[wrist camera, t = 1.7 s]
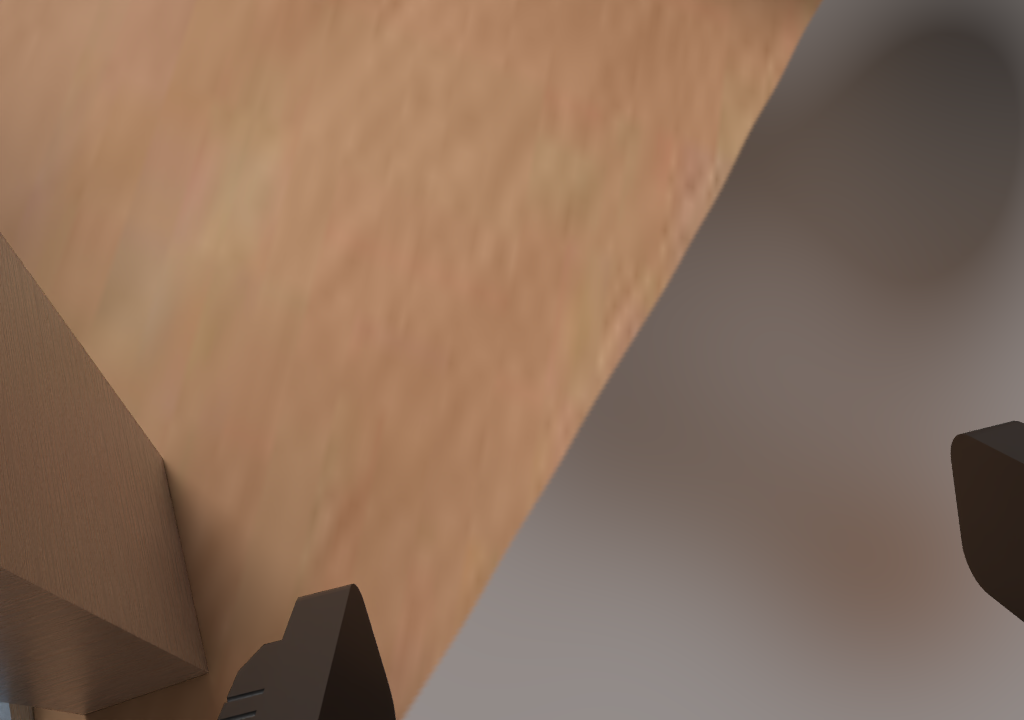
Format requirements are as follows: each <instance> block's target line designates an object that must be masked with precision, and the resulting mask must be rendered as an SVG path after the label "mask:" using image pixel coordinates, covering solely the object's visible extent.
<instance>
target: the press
mask: <svg viewBox="0 0 1024 720" xmlns="http://www.w3.org/2000/svg"><path fill="white" fill-rule="evenodd" d="M206 673H209V672H208V668H207V663H206V658H205V654H204V649H203V644H202V640H201V635H200V630H199V626H198V621H197V617H196V612H195V607H194V603H193V598H192V593H191V589H190V584H189V579H188V575H187V570H186V565H185V561H184V556H183V551H182V547H181V542H180V537H179V533H178V528H177V524H176V519H175V514H174V510H173V505H172V500H171V496H170V491H169V486H168V482H167V477H166V472H165V468H164V463H163V458H162V457H161V455H160V454H159V453H158V451H157V450H156V448H155V447H154V446H153V444H152V443H151V441H150V440H149V439H148V437H147V436H146V434H145V433H144V432H143V430H142V429H141V427H140V426H139V425H138V423H137V422H136V421H135V419H134V418H133V416H132V415H131V414H130V412H129V411H128V409H127V408H126V407H125V405H124V404H123V402H122V401H121V400H120V398H119V397H118V395H117V394H116V393H115V391H114V390H113V388H112V387H111V386H110V384H109V383H108V382H107V380H106V379H105V377H104V376H103V375H102V373H101V372H100V370H99V369H98V368H97V366H96V365H95V363H94V362H93V361H92V359H91V358H90V356H89V355H88V354H87V352H86V351H85V350H84V348H83V347H82V345H81V344H80V343H79V341H78V340H77V338H76V337H75V336H74V334H73V333H72V331H71V330H70V329H69V327H68V326H67V324H66V323H65V322H64V320H63V319H62V317H61V316H60V315H59V313H58V312H57V311H56V309H55V308H54V306H53V305H52V304H51V302H50V301H49V299H48V298H47V297H46V295H45V294H44V292H43V291H42V290H41V288H40V287H39V285H38V284H37V283H36V281H35V280H34V278H33V277H32V276H31V274H30V273H29V272H28V270H27V269H26V267H25V266H24V265H23V263H22V262H21V260H20V259H19V258H18V256H17V255H16V253H15V252H14V251H13V249H12V248H11V246H10V245H9V244H8V242H7V241H6V239H5V238H4V237H3V235H2V234H1V233H0V720H34V716H33V709H32V707H36V708H43V709H50V710H56V711H63V712H70V713H76V714H83V715H85V714H88V713H91V712H94V711H97V710H100V709H103V708H106V707H109V706H112V705H115V704H118V703H121V702H124V701H127V700H130V699H133V698H135V697H138V696H141V695H144V694H147V693H150V692H153V691H156V690H159V689H162V688H165V687H168V686H171V685H174V684H177V683H180V682H183V681H186V680H189V679H192V678H195V677H197V676H200V675H203V674H206Z"/></svg>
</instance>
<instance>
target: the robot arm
mask: <svg viewBox="0 0 1024 720" xmlns="http://www.w3.org/2000/svg"><path fill="white" fill-rule="evenodd" d="M951 463H952V470H953V477H954V485H955V493H956V501H957V509H958V516H959V524H960V531H961V539H962V546H963V551H964V554H965V558H966V561H967V563H968V565H969V568H970V570H971V572H972V574H973V576H974V577H975V579H976V581H977V582H978V583H979V585H980V586H981V587H982V588H983V589H984V591H985V592H987V593H988V594H989V595H990V596H991V597H993V598H994V599H995V600H996V601H998V602H999V603H1000V604H1001V605H1003V606H1004V607H1005V608H1007V609H1008V610H1009V611H1010V612H1012V613H1013V614H1014V615H1016V616H1017V617H1018V618H1019V619H1021V620H1022V621H1023V622H1024V423H1022V422H1019V421H1011V422H1007V423H1003V424H999V425H995V426H991V427H987V428H983V429H980V430H975V431H971V432H967V433H963V434H959V435H957V436H956V437H955V438H954V440H953V442H952V445H951ZM227 701H228V702H227V703H224V706H223V708H222V710H221V713H220V715H219V717H218V720H396V718H395V710H394V704H393V699H392V695H391V691H390V687H389V684H388V680H387V677H386V674H385V670H384V667H383V664H382V660H381V657H380V654H379V650H378V647H377V644H376V640H375V637H374V634H373V630H372V627H371V624H370V620H369V617H368V614H367V610H366V607H365V604H364V601H363V598H362V595H361V593H360V591H359V589H358V587H357V586H356V585H355V584H350V585H346V586H342V587H338V588H334V589H330V590H326V591H322V592H318V593H314V594H310V595H306V596H302V597H299V598H298V599H297V601H296V603H295V606H294V609H293V611H292V614H291V617H290V620H289V622H288V625H287V628H286V631H285V633H284V636H283V639H282V640H280V641H276V642H272V643H268V644H264V645H263V646H262V647H261V648H260V649H259V650H258V651H257V652H256V653H255V654H254V655H253V656H252V657H251V659H250V660H249V661H248V662H247V663H246V664H245V665H244V666H243V667H242V668H241V669H240V670H239V671H238V673H237V675H236V678H235V680H234V682H233V685H232V687H231V689H230V692H229V694H228V696H227Z"/></svg>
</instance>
